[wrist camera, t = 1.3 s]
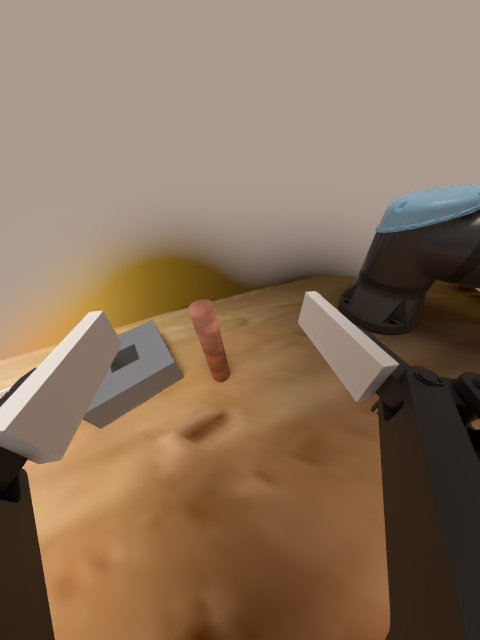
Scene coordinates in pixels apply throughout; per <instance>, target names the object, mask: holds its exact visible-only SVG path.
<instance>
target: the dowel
mask: <svg viewBox="0 0 480 640" xmlns="http://www.w3.org/2000/svg"><path fill="white" fill-rule="evenodd" d="M188 311H189V314H190V317H191V319H192V322H193V325H194V327H195V330H196V333H197V335H198V338H199V340H200V343H201V346H202V348H203V351H204V354H205V356H206V359H207V362H208V364H209V367H210V370H211V372H212V375H213V377H214V379H215V380H216V381H218V382H223V381H226V380H227V379H228V378H229V376H230V370H229V366H228V362H227V358H226V354H225V350H224V345H223V341H222V337H221V333H220V329H219V325H218V321H217V317H216V312H215V308H214V304H213V302H212V301H210V300H204V299H203V300H198V301H195V302H193V303H192V304H191V305H190V306H189V308H188Z"/></svg>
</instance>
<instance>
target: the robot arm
mask: <svg viewBox="0 0 480 640" xmlns="http://www.w3.org/2000/svg"><path fill="white" fill-rule="evenodd" d="M436 280H438V281H444V282H449V283H455V284H460V285H465V286H470V287H474V288H480V184H478V185H458V186H449V187H441V188H434V189H428V190H422V191H417V192H413V193H410V194H406V195H403V196H401V197H399V198H397V199H395V200H394V201H393V202H392V203H391V204H390V205H389V206H388V208H387V209H386V211H385V213H384V215H383V217H382V220H381V222H380V224H379V225H378V227H377V228H376V234H375V237H374V239H373V242H372V244H371V246H370V249H369V251H368V254H367V256H366V258H365V261H364V263H363V266H362V268H361V270H360V273H359V275H358V277H357V278H356V279H355V280H354V281H353V282H352V283H351V285H350V286H349V287H348V288H347V289H346V290H345V291H344V293H343V294H342V296H341V298H340V301H339V304H338V307H339V310H340V312H341V313H340V312H339V311H338V310H337V309H335V308H334V307H333V306H332V305H331V304H330V303H329V302H327V301H326V300H325V299H324V298H323V297H322V296H321V295H319V294H318V293H317V292H316V291H312V292H306V293H305V297H304V301H303V305H302V309H301V313H300V317H299V321H298V324H299V325H300V326H301V328H302V329H303V330H304V332H305V333H306V334H307V336H308V337H309V338H310V340H311V341H312V343H313V344H314V345H315V347H316V348H317V349H318V351H319V352H320V353H321V355H322V356H323V357H324V359H325V360H326V362H327V363H328V364H329V366H330V367H331V368H332V370H333V371H334V372H335V374H336V375H337V376H338V378H339V379H340V381H341V382H342V383H343V385H344V386H345V387H346V389H347V390H348V391H349V393H350V394H351V395H352V397H353V398H354V400H355V401H356V402H360V401H365V400H370V399H371V398H372V396H373V395H374V394H375V393H376V394H377V395H378V396H379V397H380V399H379V400H378V401H377V402H376V403H375V404H374V405H373V406H372V408H371V411H372V412H374V411H375V410H376V409H377V407H378V412H377V414H378V416H379V433H380V449H381V466H382V483H383V500H384V516H385V533H386V550H387V567H388V583H389V600H390V630H389V633H388V635H387V637H386V639H385V640H480V429H479V430H476V429H474V428H473V427H472V425H471V424H470V423H471V422H473V421H475V420H477V419H478V418H479V419H480V374H476V373H471V372H465V373H463V374H461V375H460V376H459V377H458V378H456V379H450V378H443V377H439V376H438V375H437V374H435V373H433V372H432V371H430V370H427V369H425V368H423V367H418V366H409V365H408V364H407V363H406V362H404V361H403V360H402V359H401V358H400V357H398V356H397V355H396V354H395V353H394V352H392V351H391V350H390V349H389V348H388V347H386V346H385V345H384V344H382V342H380V341H379V340H378V339H376V337H374V336H373V335H372V334H371V333H370V332H369V331H371V332H375V333H380V334H402V333H405V332H408V331H410V330H411V329H412V328H413V327H414V326H415V325H416V324H417V322H418V321H419V320H420V318H421V314H422V310H423V305H424V301H425V297H426V293H427V291H428V290H429V289H430V287H431V286H432V285H433V283H434V282H435V281H436ZM355 325H356V326H355ZM367 330H368V331H367ZM121 345H122V343H121V341H120V339H119V337H118V336H117V334H116V332H115V330H114V328H113V327H112V325H111V323H110V322H109V320H108V318H107V316H106V314H105V313H104V311H94V312H89V313H88V314H87V315H86V316H85V317H84V318H83V319H82V321H81V322H80V323H79V324H78V325H77V326H76V327H75V328H74V329H73V330H72V331H71V332H70V333H69V334H68V335H67V336H66V338H65V339H64V340H63V341H62V342H61V343H60V344H59V345H58V346H57V347H56V348H55V349H54V350H53V351H52V352H51V354H50V355H49V356H48V357H47V358H46V359H45V360H44V361H43V362H42V363H41V364H40V365H39V366H38V367H37V368H34V369H33V370H31V371H30V372H28V373H27V374H26V375H24V376H23V377H21V378H20V379H19V380H18V381H17V382H16V383H15V384H14V385H13V386H12V387H11V388H10V389H9V390H10V391H9V392H6V393H5V394H4V396H3V397H2V398H1V399H0V640H55V638H54V632H53V626H52V620H51V614H50V608H49V602H48V596H47V590H46V584H45V578H44V572H43V566H42V560H41V554H40V548H39V542H38V536H37V530H36V524H35V518H34V512H33V506H32V500H31V494H30V488H29V482H28V476H27V472H26V471H25V469H22V467H23V466H24V464H25V463H26V461H27V460H30V461H33V462H35V463H37V464H43V463H48V462H53V461H58V460H61V459H62V457H63V455H64V453H65V452H66V450H67V448H68V446H69V444H70V442H71V440H72V438H73V436H74V434H75V432H76V431H77V429H78V427H79V425H80V423H81V421H82V419H83V417H84V415H85V413H86V411H87V410H88V408H89V406H90V404H91V402H92V400H93V398H94V396H95V394H96V392H97V390H98V389H99V387H100V385H101V383H102V381H103V379H104V377H105V375H106V373H107V371H108V370H109V368H110V366H111V364H112V362H113V360H114V358H115V356H116V354H117V352H118V350H119V349H120V347H121Z"/></svg>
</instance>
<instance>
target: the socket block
mask: <svg viewBox="0 0 480 640" xmlns="http://www.w3.org/2000/svg"><path fill="white" fill-rule="evenodd" d="M118 337H119V339H120V341H121V343H122V345H121V347H120V349H119V350H118V352H117V354H116V356H115V358H114V360H113V362H112V364H111V366H110V368H109V370H108V371H107V373H106V375H105V377H104V379H103V381H102V383H101V385H100V387H99V389H98V390H97V392H96V394H95V396H94V398H93V400H92V402H91V404H90V406H89V408H88V410H87V411H86V413H85V415H84V417H83V420H85V421H87V422H89V423H91V424H93V425H95V426H97V427H99V428H102V427H104V426H106V425H107V424H109V423H111V422H112V421H114V420H115V419H117V418H119V417H120V416H122V415H123V414H125V413H127V412H128V411H130V410H131V409H133V408H135V407H136V406H138V405H139V404H141V403H143V402H144V401H146V400H148V399H149V398H151V397H152V396H154V395H156V394H157V393H159V392H160V391H162V390H164V389H165V388H167V387H168V386H170V385H172V384H173V383H175V382H177V381H178V380H180V379H181V378H183V375H182V373H181V371H180V369H179V367H178V366H177V364H176V362H175V360H174V358H173V356H172V354H171V352H170V350H169V349H168V347H167V345H166V343H165V341H164V339H163V337H162V335H161V334H160V332H159V330H158V328H157V327H156V325H155V323H154V322H153V320H151V321H149V322H147V323H145V324H142V325H140V326H138V327H136V328H134V329H131V330H129V331H127V332H125V333H122V334H120V335H118Z"/></svg>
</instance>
